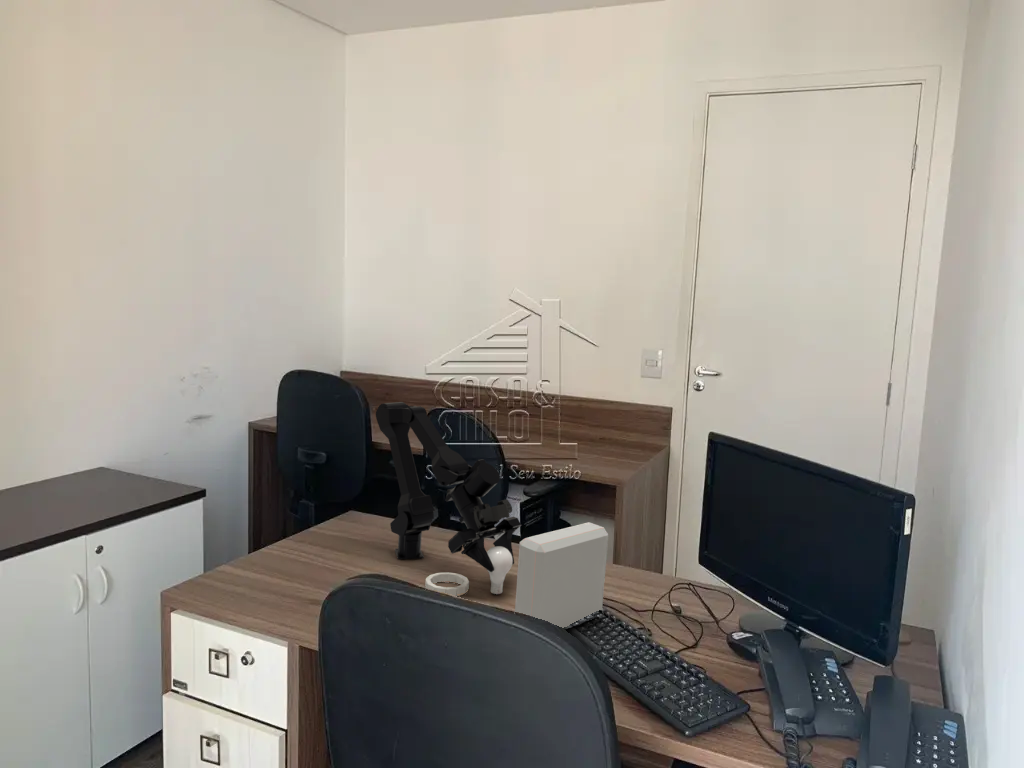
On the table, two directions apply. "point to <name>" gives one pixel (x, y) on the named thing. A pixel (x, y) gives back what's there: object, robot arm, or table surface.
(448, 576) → the socket
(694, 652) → the table surface
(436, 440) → the robot arm
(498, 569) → the lightbulb
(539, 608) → the bevelled white case
